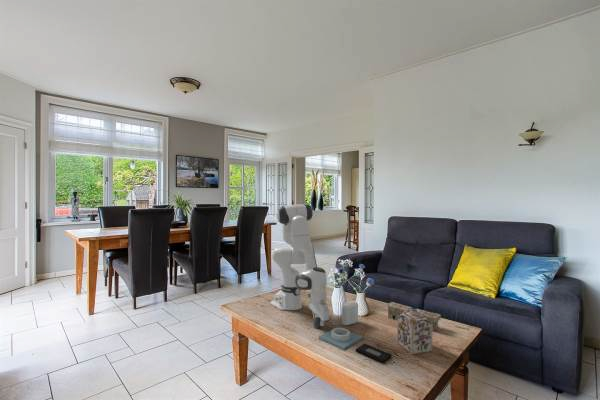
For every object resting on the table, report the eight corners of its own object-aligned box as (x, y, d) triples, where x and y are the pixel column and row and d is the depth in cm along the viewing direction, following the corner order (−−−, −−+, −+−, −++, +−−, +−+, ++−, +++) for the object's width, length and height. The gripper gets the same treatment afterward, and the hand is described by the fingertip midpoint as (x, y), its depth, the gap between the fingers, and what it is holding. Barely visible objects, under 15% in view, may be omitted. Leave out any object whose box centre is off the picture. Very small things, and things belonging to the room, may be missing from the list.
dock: (318, 338, 152) (318, 331, 152) (338, 328, 164) (338, 322, 164) (343, 349, 141) (343, 342, 141) (362, 338, 152) (362, 332, 152)
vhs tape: (364, 347, 145) (364, 343, 145) (391, 359, 135) (391, 354, 135) (355, 353, 139) (355, 348, 139) (383, 365, 129) (383, 361, 129)
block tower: (385, 318, 180) (435, 333, 160) (385, 304, 181) (435, 317, 160) (392, 315, 186) (440, 328, 165) (391, 301, 186) (440, 313, 165)
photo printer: (353, 319, 176) (354, 298, 176) (359, 322, 172) (359, 301, 172) (340, 323, 170) (340, 302, 170) (345, 326, 167) (346, 304, 167)
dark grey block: (312, 326, 166) (312, 315, 166) (318, 324, 169) (318, 313, 169) (318, 329, 162) (318, 318, 162) (324, 327, 166) (324, 315, 166)
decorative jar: (411, 355, 137) (412, 316, 137) (396, 343, 148) (396, 307, 148) (433, 351, 140) (433, 313, 140) (416, 340, 151) (417, 304, 151)
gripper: (332, 303, 157) (331, 329, 157) (316, 291, 176) (316, 314, 176) (321, 304, 155) (320, 331, 155) (306, 292, 174) (306, 316, 174)
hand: (318, 322), depth 166 cm, fingers open, 8 cm apart
